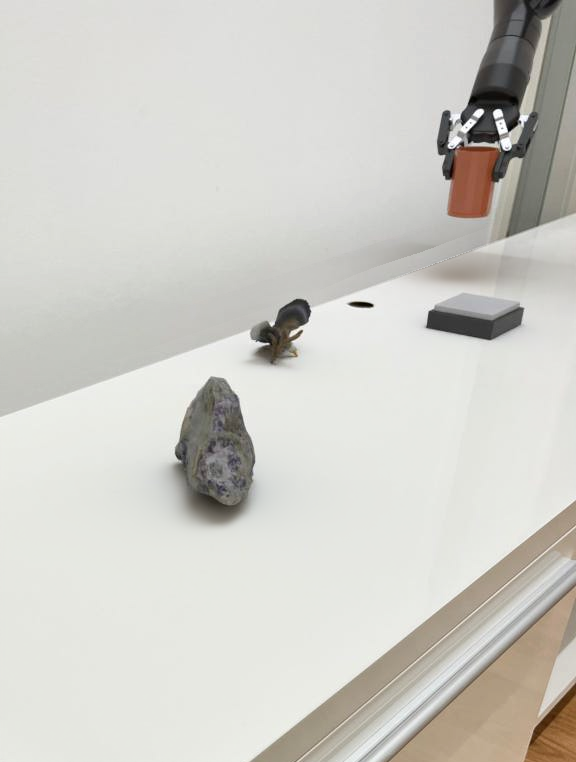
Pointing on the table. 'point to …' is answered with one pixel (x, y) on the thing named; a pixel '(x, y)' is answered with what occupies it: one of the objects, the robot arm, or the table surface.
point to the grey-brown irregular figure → (283, 328)
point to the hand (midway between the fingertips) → (471, 177)
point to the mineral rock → (216, 444)
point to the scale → (475, 315)
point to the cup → (472, 182)
